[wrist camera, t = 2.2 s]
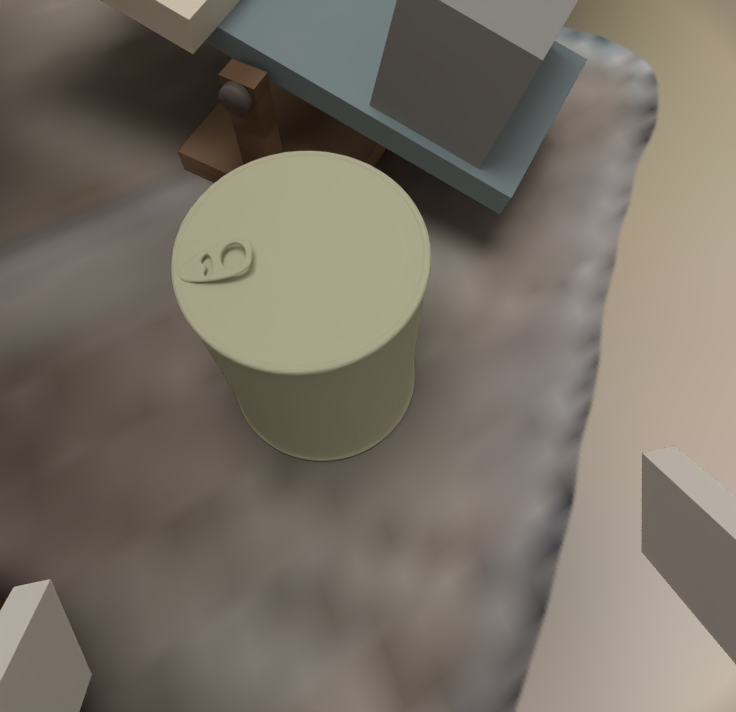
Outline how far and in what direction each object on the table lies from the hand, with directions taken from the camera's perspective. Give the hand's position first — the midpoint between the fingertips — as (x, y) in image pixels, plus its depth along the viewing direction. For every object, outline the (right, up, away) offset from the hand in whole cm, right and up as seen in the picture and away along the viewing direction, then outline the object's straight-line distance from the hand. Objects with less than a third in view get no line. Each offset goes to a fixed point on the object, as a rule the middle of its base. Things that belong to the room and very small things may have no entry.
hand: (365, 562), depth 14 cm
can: (-2, +4, +19) cm, 19 cm away
